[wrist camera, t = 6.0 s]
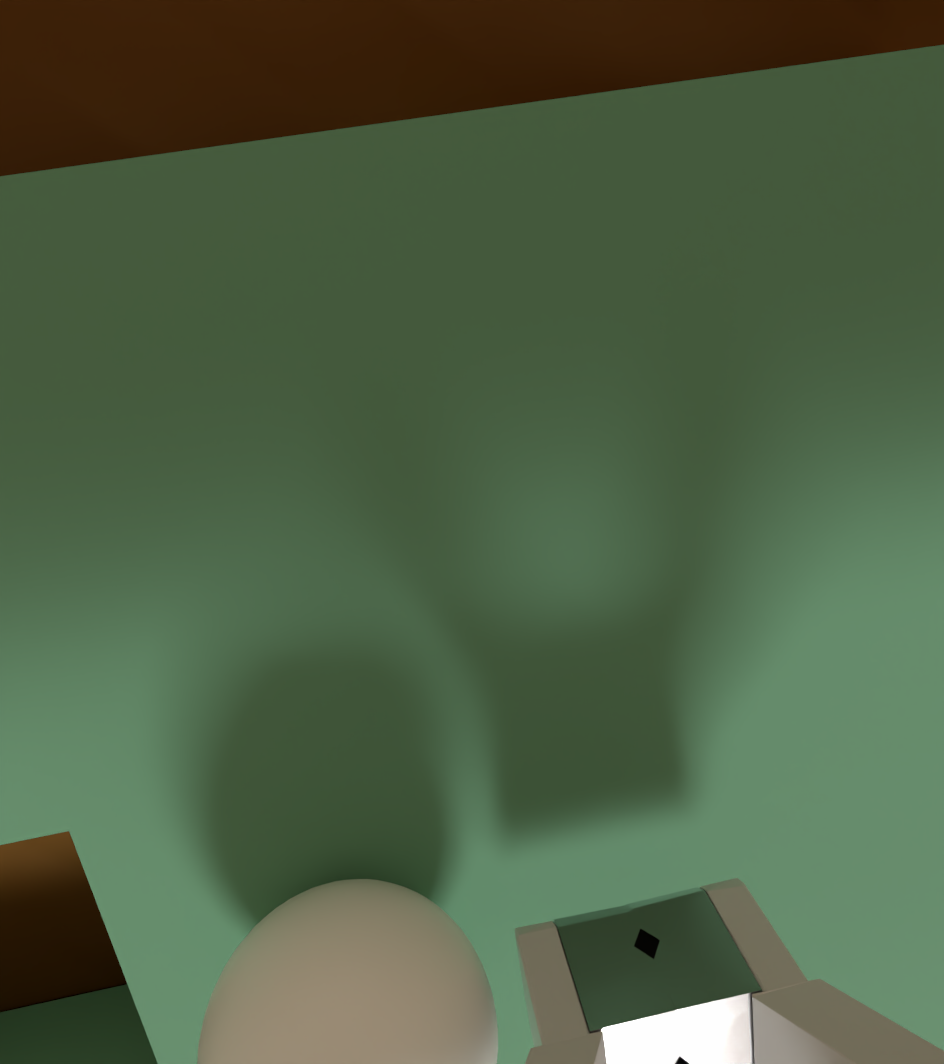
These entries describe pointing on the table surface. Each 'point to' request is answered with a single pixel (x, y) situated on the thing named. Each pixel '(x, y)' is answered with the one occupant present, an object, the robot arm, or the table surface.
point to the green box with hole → (485, 530)
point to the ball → (352, 985)
